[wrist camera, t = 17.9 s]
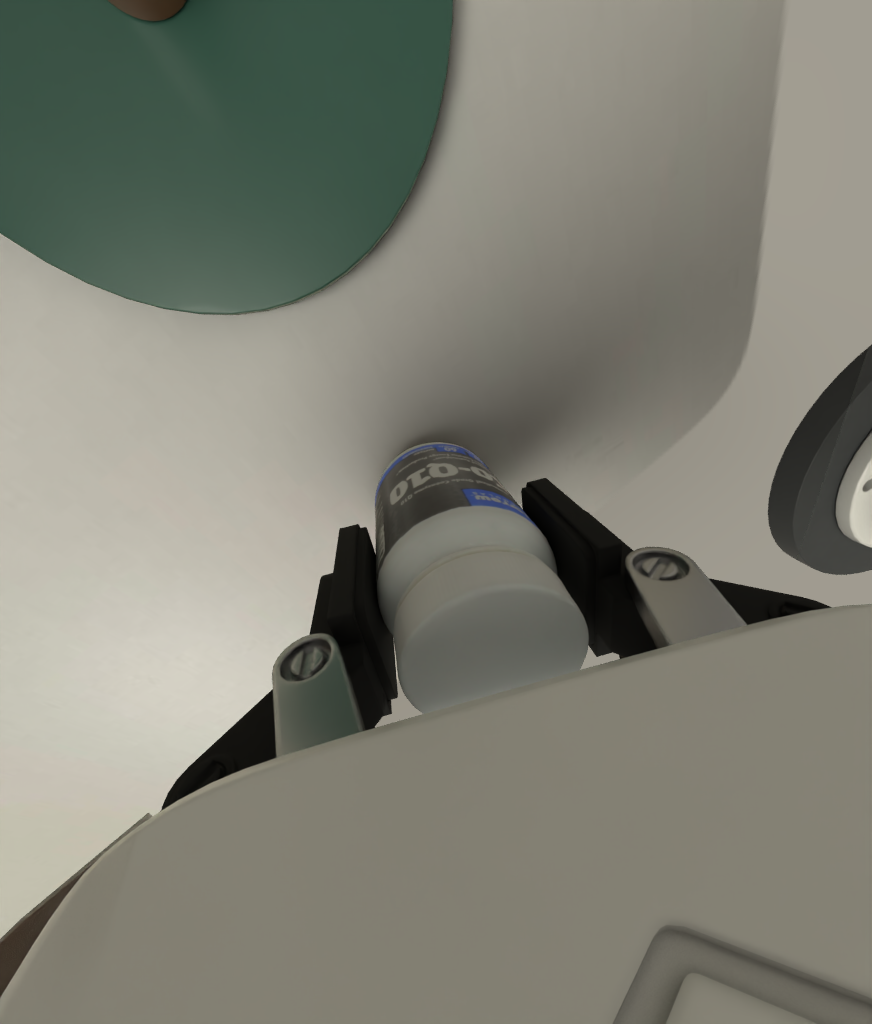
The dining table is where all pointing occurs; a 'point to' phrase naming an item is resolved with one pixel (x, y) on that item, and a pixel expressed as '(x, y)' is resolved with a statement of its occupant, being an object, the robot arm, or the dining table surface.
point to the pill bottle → (467, 582)
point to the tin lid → (214, 140)
